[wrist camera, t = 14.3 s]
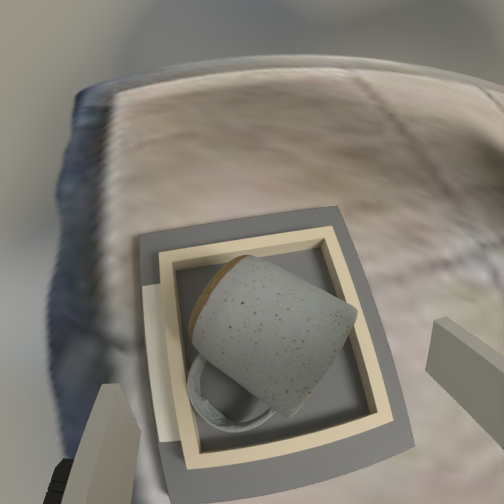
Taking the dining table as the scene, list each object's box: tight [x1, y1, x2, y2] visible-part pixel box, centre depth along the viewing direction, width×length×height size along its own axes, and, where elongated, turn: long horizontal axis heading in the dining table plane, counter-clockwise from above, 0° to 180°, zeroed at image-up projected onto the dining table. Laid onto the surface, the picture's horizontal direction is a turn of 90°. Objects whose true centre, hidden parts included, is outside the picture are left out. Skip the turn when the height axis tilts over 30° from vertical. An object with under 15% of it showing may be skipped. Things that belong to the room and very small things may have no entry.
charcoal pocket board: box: [139, 206, 415, 504], centre depth 22 cm, size 18×22×3 cm
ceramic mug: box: [187, 255, 358, 433], centre depth 18 cm, size 11×8×8 cm
